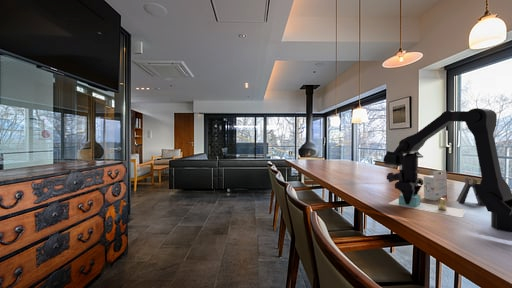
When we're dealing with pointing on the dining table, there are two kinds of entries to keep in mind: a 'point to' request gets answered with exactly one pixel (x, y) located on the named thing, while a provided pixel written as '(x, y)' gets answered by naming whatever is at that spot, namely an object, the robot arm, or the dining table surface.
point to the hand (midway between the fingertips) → (409, 202)
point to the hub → (442, 204)
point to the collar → (414, 201)
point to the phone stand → (466, 189)
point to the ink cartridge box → (435, 185)
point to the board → (434, 209)
